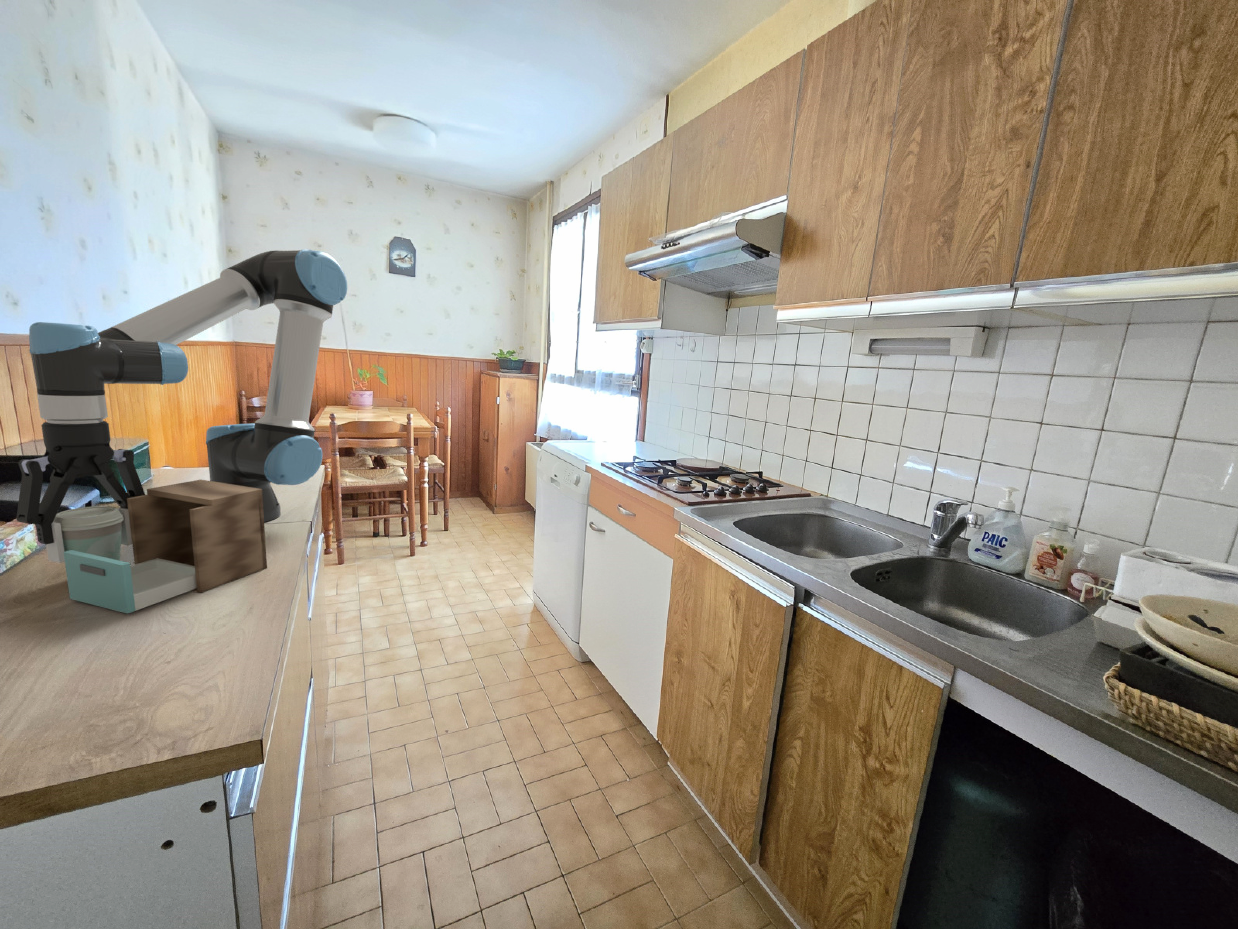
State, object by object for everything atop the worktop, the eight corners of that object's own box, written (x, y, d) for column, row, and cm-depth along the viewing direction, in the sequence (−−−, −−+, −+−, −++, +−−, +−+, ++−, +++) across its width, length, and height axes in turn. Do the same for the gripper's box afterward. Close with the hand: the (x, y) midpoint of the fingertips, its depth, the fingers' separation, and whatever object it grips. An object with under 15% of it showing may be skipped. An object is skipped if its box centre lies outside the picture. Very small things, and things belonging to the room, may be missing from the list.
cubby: (207, 555, 100) (200, 479, 97) (267, 568, 96) (261, 489, 93) (136, 578, 88) (126, 492, 85) (200, 593, 84) (192, 504, 82)
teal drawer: (158, 570, 90) (154, 529, 89) (211, 582, 87) (207, 540, 86) (68, 599, 79) (61, 552, 77) (125, 614, 75) (119, 565, 74)
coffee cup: (85, 592, 82) (75, 522, 80) (45, 584, 84) (34, 515, 82) (143, 572, 91) (136, 508, 88) (106, 566, 92) (97, 502, 90)
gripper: (135, 414, 93) (148, 531, 97) (-38, 423, 73) (-12, 570, 77) (165, 418, 91) (177, 536, 96) (-4, 428, 71) (20, 578, 75)
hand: (92, 551), depth 86 cm, fingers closed on coffee cup, 8 cm apart
